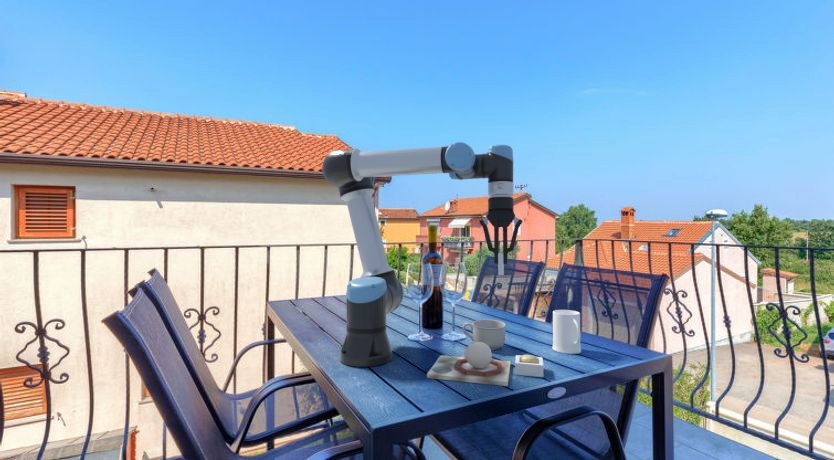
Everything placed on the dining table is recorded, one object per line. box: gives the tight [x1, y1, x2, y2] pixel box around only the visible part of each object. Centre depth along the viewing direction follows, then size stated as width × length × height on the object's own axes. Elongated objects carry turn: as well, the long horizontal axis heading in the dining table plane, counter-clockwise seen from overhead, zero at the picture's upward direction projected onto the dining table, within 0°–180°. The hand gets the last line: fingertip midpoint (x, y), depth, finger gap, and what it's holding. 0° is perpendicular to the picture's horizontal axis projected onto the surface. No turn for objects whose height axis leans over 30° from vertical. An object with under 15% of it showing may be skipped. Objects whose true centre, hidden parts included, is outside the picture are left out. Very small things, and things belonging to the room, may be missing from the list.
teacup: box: [461, 318, 507, 351], centre depth 125 cm, size 14×11×8 cm
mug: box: [552, 309, 582, 355], centre depth 120 cm, size 12×8×12 cm
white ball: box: [464, 341, 493, 369], centre depth 102 cm, size 7×7×7 cm
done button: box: [521, 354, 538, 364], centre depth 102 cm, size 4×4×2 cm
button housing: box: [514, 354, 544, 378], centre depth 102 cm, size 7×7×3 cm
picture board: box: [426, 355, 511, 387], centre depth 102 cm, size 20×16×2 cm
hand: (501, 274), depth 116 cm, fingers closed
